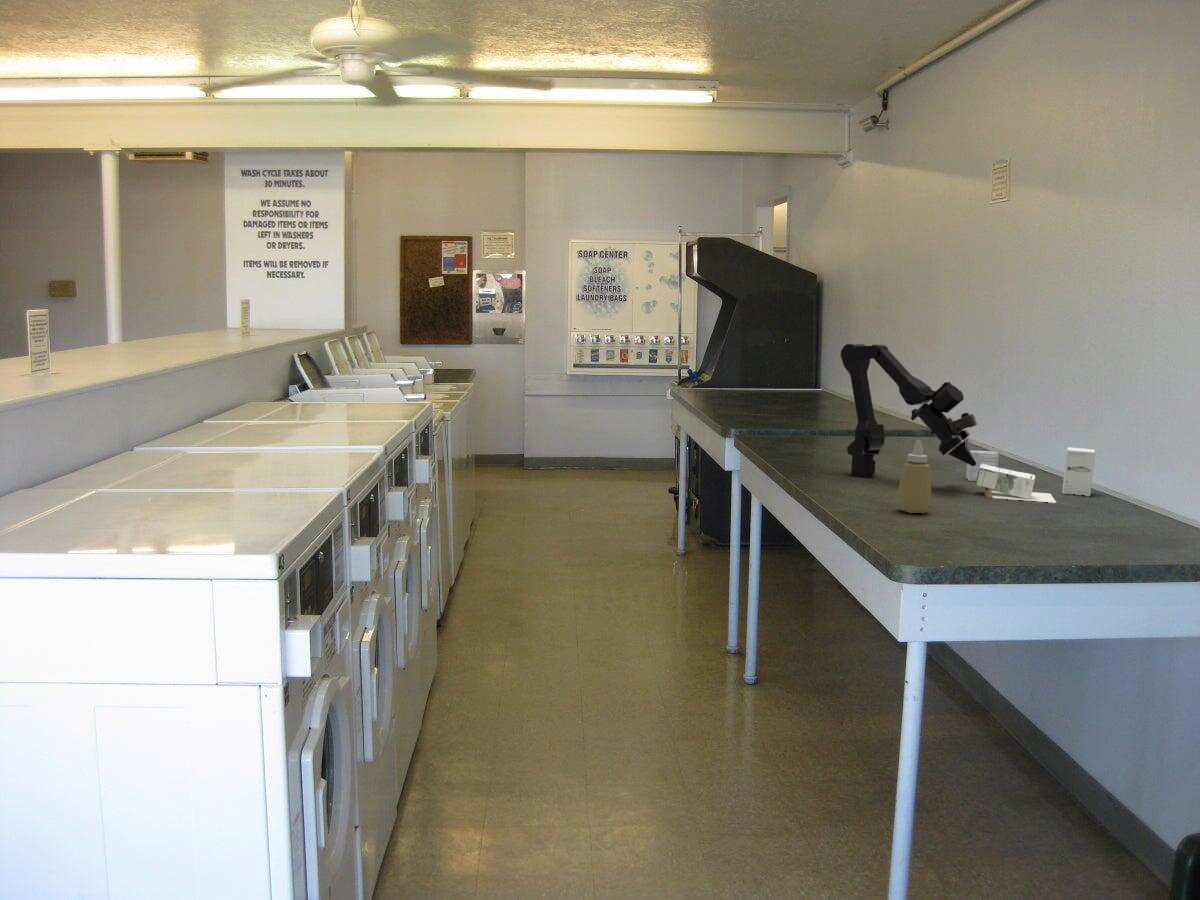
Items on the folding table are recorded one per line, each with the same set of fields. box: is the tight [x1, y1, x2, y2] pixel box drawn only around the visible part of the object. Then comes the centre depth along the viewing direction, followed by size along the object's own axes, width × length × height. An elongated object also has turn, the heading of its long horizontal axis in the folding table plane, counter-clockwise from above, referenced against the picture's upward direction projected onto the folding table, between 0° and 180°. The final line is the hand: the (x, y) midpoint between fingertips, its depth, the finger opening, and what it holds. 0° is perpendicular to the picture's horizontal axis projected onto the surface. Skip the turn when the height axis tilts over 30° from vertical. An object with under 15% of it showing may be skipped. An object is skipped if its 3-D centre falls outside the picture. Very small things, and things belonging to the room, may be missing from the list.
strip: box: [982, 488, 993, 499], centre depth 299 cm, size 2×12×2 cm, turn 164°
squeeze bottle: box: [897, 439, 932, 514], centre depth 268 cm, size 8×8×18 cm
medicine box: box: [965, 449, 1000, 482], centre depth 320 cm, size 8×4×9 cm, turn 84°
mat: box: [992, 491, 1057, 504], centre depth 297 cm, size 16×14×1 cm
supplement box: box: [1061, 446, 1096, 497], centre depth 304 cm, size 7×7×13 cm
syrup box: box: [974, 464, 1036, 499], centre depth 296 cm, size 6×6×14 cm
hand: (975, 465), depth 299 cm, fingers closed
